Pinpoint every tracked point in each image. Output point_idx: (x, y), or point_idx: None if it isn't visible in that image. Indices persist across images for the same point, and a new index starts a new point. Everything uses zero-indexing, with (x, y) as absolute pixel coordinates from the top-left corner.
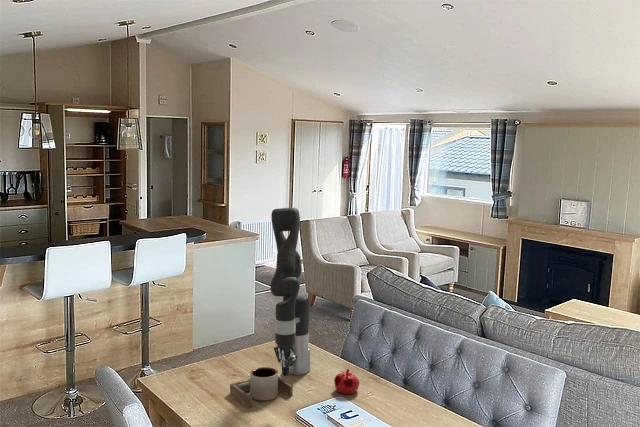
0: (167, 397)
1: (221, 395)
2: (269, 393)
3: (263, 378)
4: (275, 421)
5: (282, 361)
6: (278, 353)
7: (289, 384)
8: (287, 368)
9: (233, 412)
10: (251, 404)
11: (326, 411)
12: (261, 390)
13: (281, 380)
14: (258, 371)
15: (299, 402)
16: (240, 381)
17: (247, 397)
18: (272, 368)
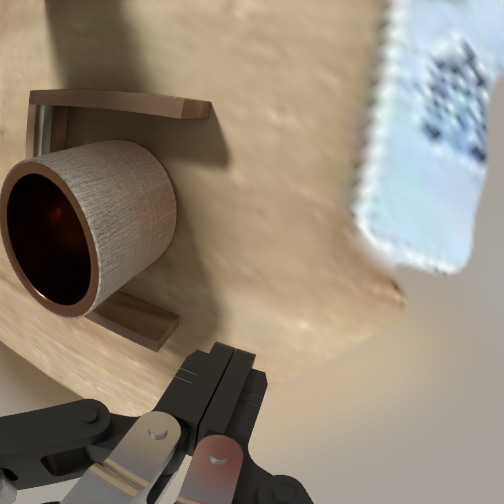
0: (37, 361)
1: None
2: (158, 243)
3: (95, 306)
4: (339, 354)
5: (161, 497)
6: (33, 480)
7: (158, 101)
8: (240, 436)
9: (172, 369)
10: (173, 324)
11: (480, 137)
12: (131, 278)
13: (96, 103)
14: (16, 222)
15: (300, 136)
16: None
17: (147, 346)
18: (23, 168)
